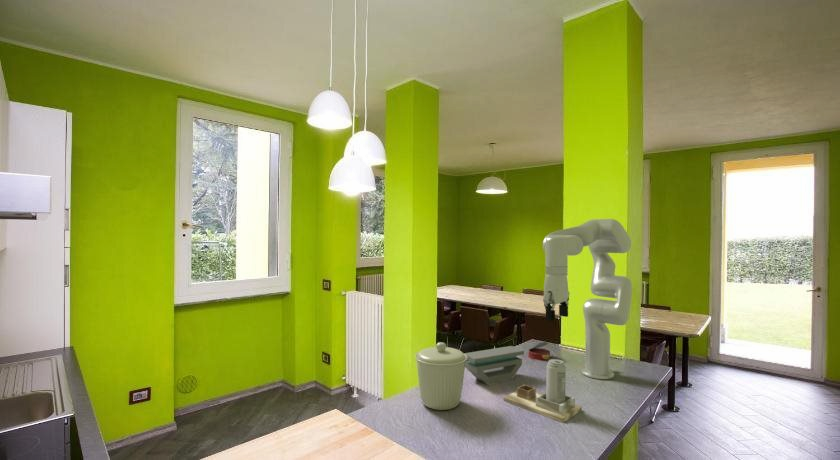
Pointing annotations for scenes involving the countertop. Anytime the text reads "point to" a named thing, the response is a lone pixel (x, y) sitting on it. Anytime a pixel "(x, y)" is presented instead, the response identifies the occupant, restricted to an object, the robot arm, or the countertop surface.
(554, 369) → the energy drink can
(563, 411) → the wooden organizer tray
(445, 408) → the canister
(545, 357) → the canned food
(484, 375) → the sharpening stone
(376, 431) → the countertop surface
